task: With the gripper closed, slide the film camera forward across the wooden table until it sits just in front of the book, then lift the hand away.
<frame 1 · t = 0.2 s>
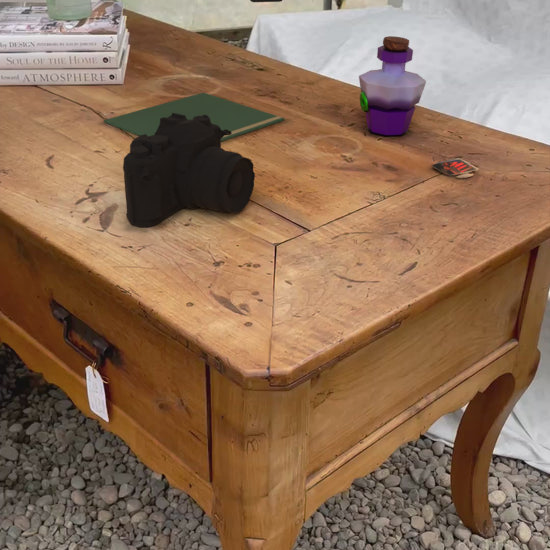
book: (195, 121, 104), on the table
potion bottle: (387, 131, 103), on the table
matchbox: (455, 171, 91), on the table
film camera: (198, 208, 81), on the table
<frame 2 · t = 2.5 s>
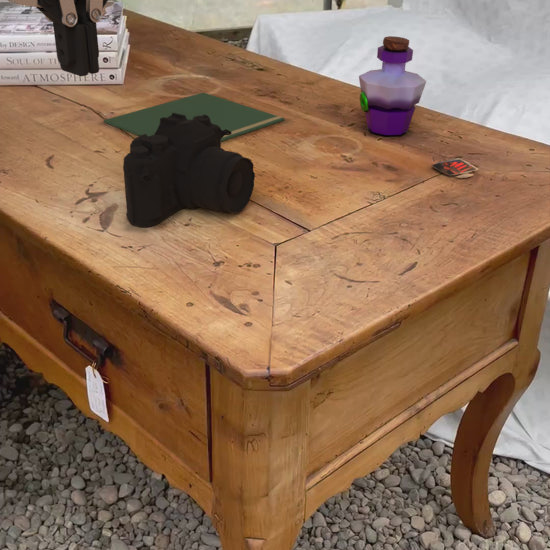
hand: (79, 71, 64), 17 cm above the table, tool pointing down, fingers closed
nothing on the table moved.
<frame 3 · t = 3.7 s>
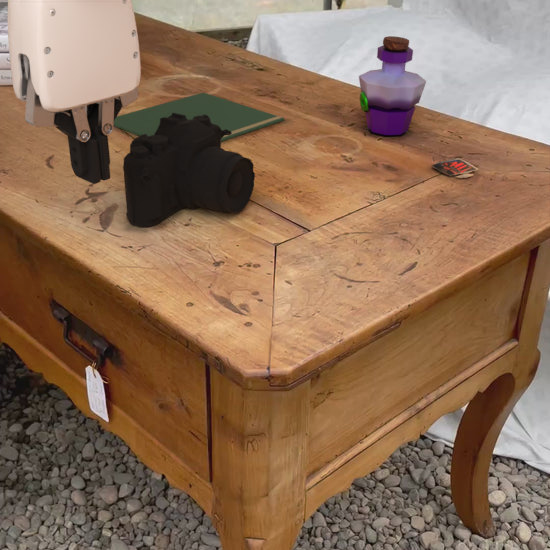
hand: (92, 177, 69), 7 cm above the table, tool pointing down, fingers closed
nothing on the table moved.
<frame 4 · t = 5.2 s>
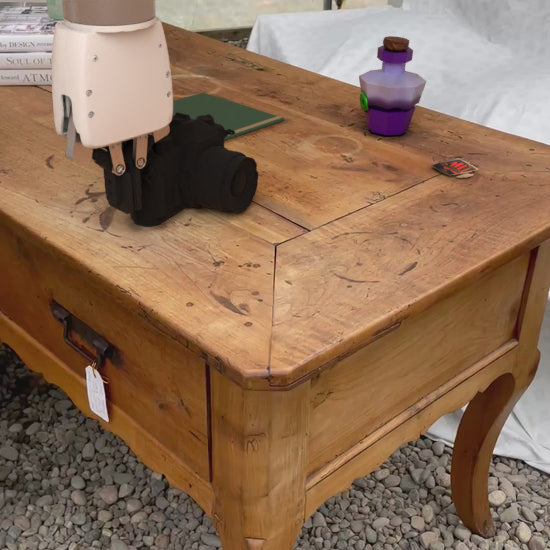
hand: (125, 206, 73), 3 cm above the table, tool pointing down, fingers closed
film camera: (201, 207, 81), on the table, touching gripper
everything else where it was.
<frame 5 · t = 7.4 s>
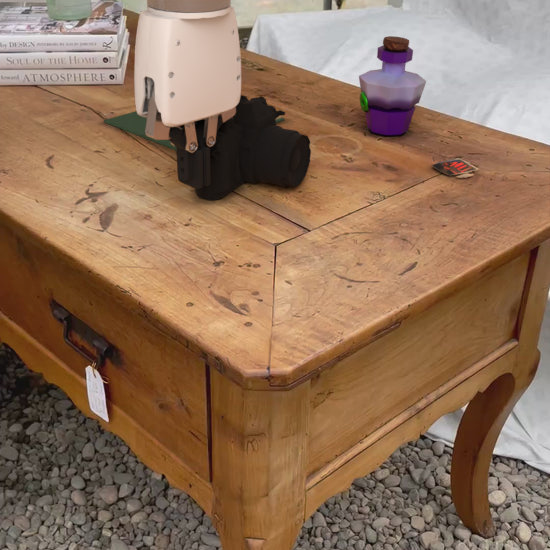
hand: (194, 182, 79), 3 cm above the table, tool pointing down, fingers closed
film camera: (257, 183, 87), on the table, touching gripper
everything else where it was.
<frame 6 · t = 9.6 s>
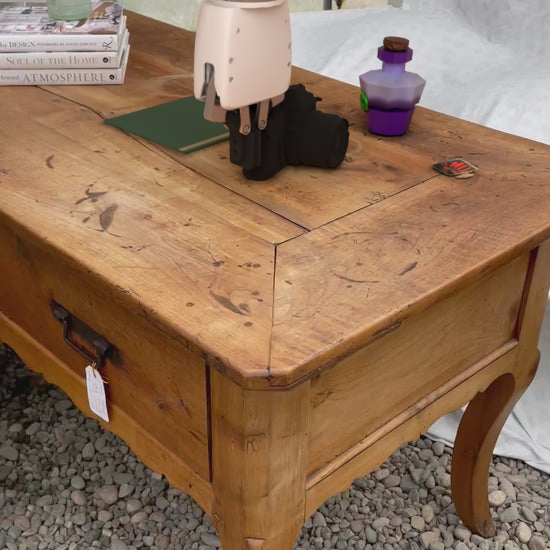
hand: (245, 164, 83), 3 cm above the table, tool pointing down, fingers closed
film camera: (299, 165, 92), on the table, touching gripper
everything else where it was.
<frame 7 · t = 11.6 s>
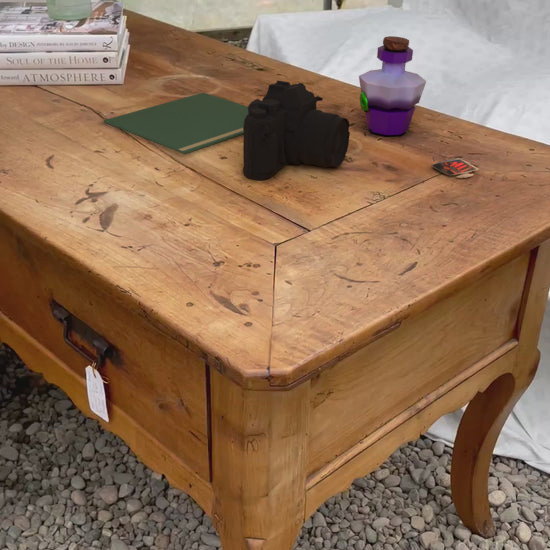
film camera: (299, 164, 92), on the table
everything else where it was.
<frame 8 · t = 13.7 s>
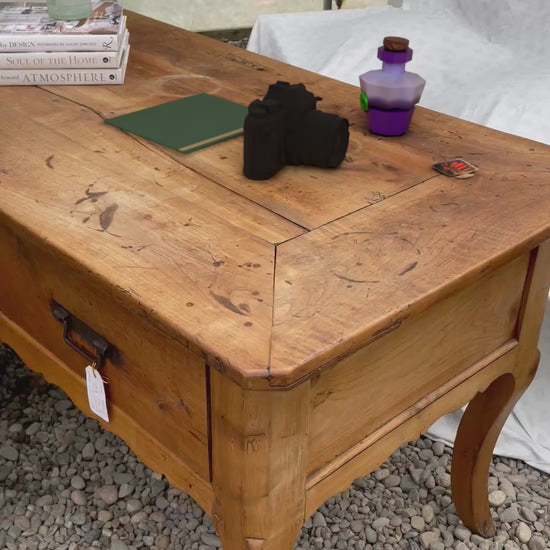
nothing on the table moved.
at the end: film camera inside the target area on the table beside the book (2.0 cm from its centre), on the table; film camera tilted 0°; film camera moved 16.7 cm from its start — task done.
